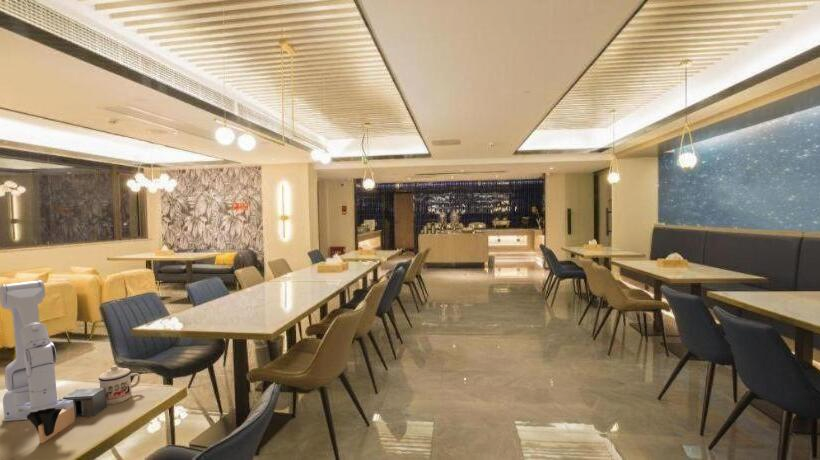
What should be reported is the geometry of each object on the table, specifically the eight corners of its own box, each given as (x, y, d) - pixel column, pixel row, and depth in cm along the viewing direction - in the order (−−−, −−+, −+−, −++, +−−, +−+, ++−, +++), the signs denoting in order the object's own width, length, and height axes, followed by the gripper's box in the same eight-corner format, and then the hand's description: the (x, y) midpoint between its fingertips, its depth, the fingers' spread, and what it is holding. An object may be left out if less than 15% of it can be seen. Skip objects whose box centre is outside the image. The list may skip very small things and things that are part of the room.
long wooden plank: (39, 443, 118) (38, 425, 117) (71, 421, 130) (70, 405, 129) (43, 442, 118) (41, 425, 117) (75, 421, 130) (73, 405, 129)
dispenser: (63, 418, 131) (61, 398, 131) (78, 408, 138) (76, 389, 138) (92, 417, 132) (91, 396, 131) (106, 407, 138) (105, 387, 138)
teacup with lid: (104, 408, 138) (101, 373, 137) (97, 400, 144) (94, 367, 143) (145, 394, 147) (143, 362, 146) (137, 388, 153) (135, 356, 152)
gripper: (3, 395, 114) (7, 443, 115) (58, 392, 115) (62, 440, 116) (25, 384, 121) (29, 430, 122) (77, 381, 122) (81, 427, 123)
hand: (46, 434), depth 120 cm, fingers closed on long wooden plank
